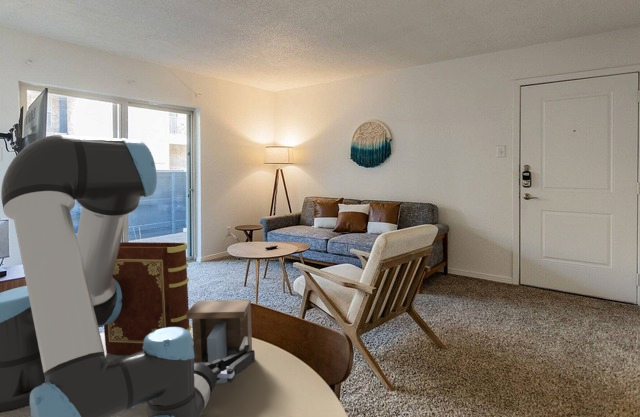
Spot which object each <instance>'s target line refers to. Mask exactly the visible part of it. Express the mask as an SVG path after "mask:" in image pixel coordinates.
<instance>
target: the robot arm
mask: <svg viewBox="0 0 640 417" xmlns="http://www.w3.org/2000/svg"><path fill="white" fill-rule="evenodd" d="M157 179H158V178H157V169H156V164H155V160H154V157H153V155H152V152H151V150H150V148H149V147H148V146H147V145H146V143H144V142H143V141H141V140H137V139H128V138H124V137H120V138H113V137H112V138H111V137H95V136H80V135H79V136H78V135H76V136H75V135H67V134H54V135H48V136H45V137H41V138H39V139H37V140H34V141H32V142H31V143H29V144H28V145H26V146H25V147H24V148H22V149H21V150H20V151H19V152H18V153H17V154H16V156H14V158H13V160H12V161H11V162H10V164H9V165H8V167H7V169H6V171H5V174H4V176H3V179H2V183H1V189H0V190H1V191H0V192H1V194H0V195H1V196H0V199H1V204H2V209H3V213H4V215H5V216H6V217H7V218H8V219H11V220H13V222H14V227H15V231H16V232H15V234H16V238H17V242H18V248H19V253H20V257H21V258H20V259H21V263H22V269H23V274H24V279H25V285H23V286H19V287H16V288H15V287H14V288H12V289H8V290H4V291H2V292H0V412H6V411H10V410H11V411H12V410H15V409H18V408H23V407H25V406H28V405H29V408H30V417H115V416H116V415H118V414H121V413H122V412H126V411H129V410H131V409H133V408H136V407H138V406H140V405H143V404H144V403H146V406H147V417H201V416H202V415H203V413H204V410H205V408H206V407H207V405H208V402H209V400H210V398H211V395H212V394H213V392H214V389H215V387H216V384H217V383H216V382H217V381H218V380H219V379H220V378H227V382H228V383H231V382H233V381H234V380H235V378H236V376H238V375H240V374H241V373H242V372H243V371H245V370H247V368H248V367H250V366H251V365H252V364H253V363H255V362H256V360H255V359H256V356H255V355H256V352H255V350H254V349H252V350H250V346H249V345H248V337H244V339H243V341H242V344H241V346H240V348H239V350H240V351H239V352H237V353H234V354H232V355H230V356H228V357H226V358H223V359H216V360H214V361H212V362H205V363H204V362H198V363H196V362H194V357H195V356H194V349H193V335H192V334H191V332H189V331H188V330H186V329H184V328H181V327H167V328H161V329H158V330H155V331H153V333H150V334H148V335H147V336H146V337H145V339H144V344H143V351H140V352H137V353H134V354H131V355H125V356H123V357H120V358H116V359H113V360H111V361H107V358H106V354H105V348H104V344H103V341H102V336H101V333H100V328H101V327H104V325H106V324H109V323H112V322H113V321H115V320H116V319H117V317H118V316H119V314H120V311H121V307H122V302H121V299H122V292H121V288H120V286H119V284H118V282H117V281H116V280H115V279H114V278H113V277H112V275H113V271H114V267H115V263H116V259H117V255H118V251H119V247H120V243H121V242H122V239H123V235H124V231H125V227H126V223H127V220H128V215H130V214H132V213H134V212H135V211H136V210H137V209H138V207H139V204H140V200H141V198H142V197H143V198H148V197H150V196H153V194H154V193H155V192H156V189H157V182H158V180H157ZM76 203H77V204H78V205H79V206H80V207H81V210H80V216H79V221H78V227H77V233H76V231H75V227H74V222H73V219H72V215H71V211H72V210H73V209H74V208H75V205H76ZM217 364H218V367H217V366H216V365H217Z"/></svg>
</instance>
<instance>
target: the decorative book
mask: <svg viewBox="0 0 640 417" xmlns="http://www.w3.org/2000/svg"><path fill="white" fill-rule="evenodd" d="M187 250H188V243H187V242H150V241H149V242H147V241H145V242H143V241H142V242H138V241H137V242H135V241H134V242H132V241H130V242H129V241H125V242H122V241H121V243H120V247H119V251H118V255H117V259H116V263H115V267H114V271H113V275H112V277H113V278H114V279H115V280H116V281H117V282H118V284H119V286H120V288H121V292H122V299H121V302H122V307H121V311H120V314H119V316H118V317H117V319H116V320H115V321H113V322H112V323H109V324H106V325H104V326H103V327H104V329H103V331H104V344H105V352H106V355H116V356H117V355H119V356H121V355H122V356H128V355H131V354H134V353H137V352H140V351H143V344H144V339H145V337H146V336H147V335H148V334H150V333H153V331H155V330H158V329H161V328H167V327H181V328H184V329H186V330H188V331H189V332H190V331H191V330H192V323H190V319H186V313H187V312H188V310H189V309H190V307H189V290H188V288H189V287H188V283H189V281H190V279H189V276H188V267H189V262H187ZM190 333H191V332H190Z"/></svg>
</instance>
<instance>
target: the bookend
mask: <svg viewBox="0 0 640 417" xmlns="http://www.w3.org/2000/svg"><path fill="white" fill-rule="evenodd" d="M207 347H208V362H212V361H214V360H216V359H223V358H226V357H227V342H226V322H217V324H216V325H215V327H214V328H213V330H212V332H211V333H210V335H209V336H208V338H207ZM216 366H217V367H218V364H217V365H216ZM227 382H228V381H227V378H220V379H219V380H218V381H217V382H216V384H227Z"/></svg>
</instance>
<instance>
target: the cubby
mask: <svg viewBox="0 0 640 417" xmlns="http://www.w3.org/2000/svg"><path fill="white" fill-rule="evenodd" d="M251 301H252V300H251V299H220V300H218V299H214V300H211V299H210V300H197V301H196V302H195V303H193V305H192V306H191V307H189V310H188V312H187V313H186V319H189V320H191V330H192V338H193V349H194V356H195V357H194V362H196V363H198V362H204V363H205V362H208V347H207V338H208V336H209V335H210V333H211V332H212V330H213V328H214V327H215V325H216V324H217V322H226V342H227V357H228V356H230V355H232V354H234V353H237V352H239V351H240V350H239V348H240V346H241V344H242V341H243V339H244V337H248V345H249V346H250V350H253V339H252V337H253V336H252V335H253V334H252V310H251V309H252V308H251V306H252V305H251V303H252V302H251Z"/></svg>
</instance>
